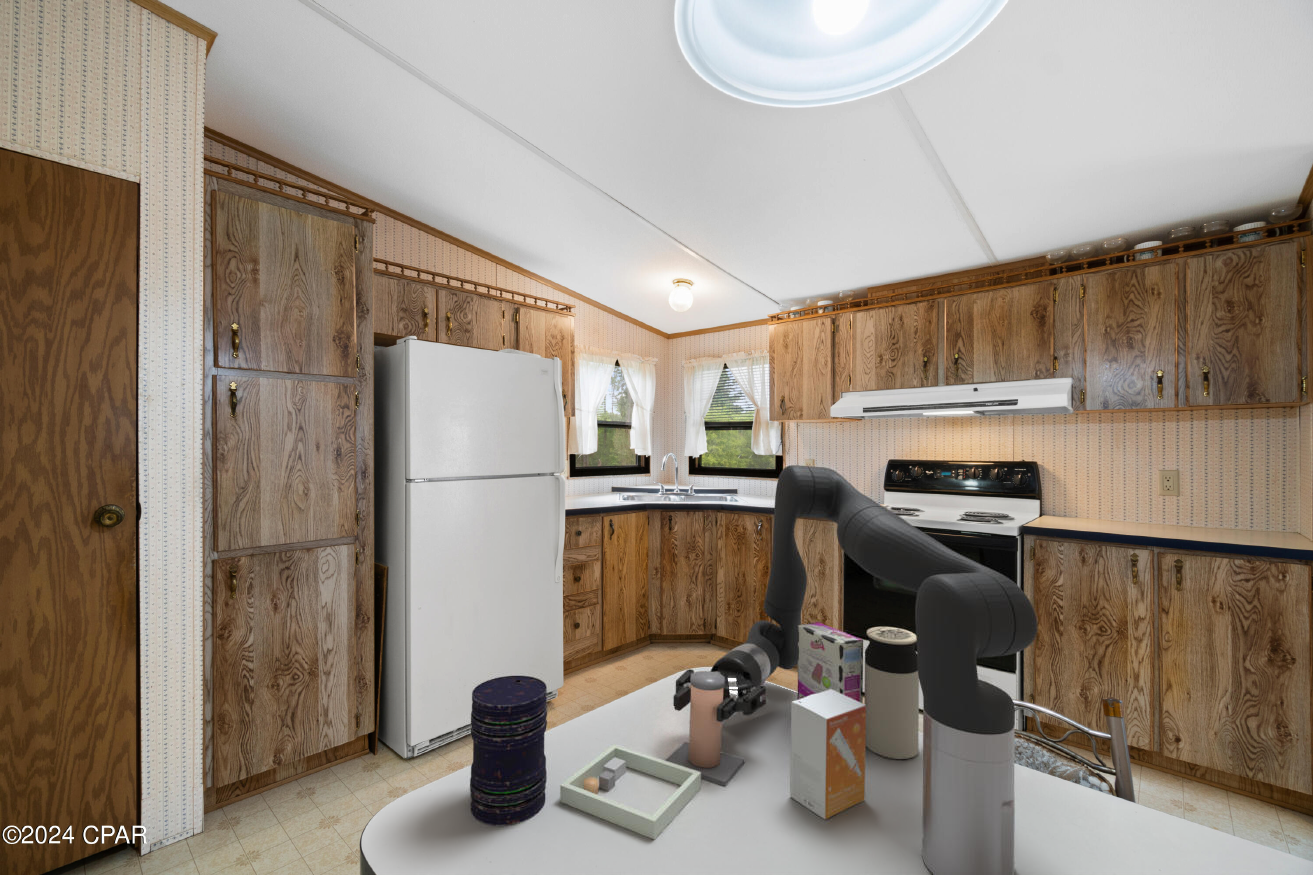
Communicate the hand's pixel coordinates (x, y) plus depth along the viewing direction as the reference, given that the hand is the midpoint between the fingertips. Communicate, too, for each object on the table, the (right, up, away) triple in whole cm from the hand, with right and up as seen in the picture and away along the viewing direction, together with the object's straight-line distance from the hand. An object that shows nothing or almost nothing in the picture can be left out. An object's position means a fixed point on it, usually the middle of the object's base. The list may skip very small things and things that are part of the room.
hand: (697, 709), depth 87 cm
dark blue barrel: (-26, -9, -8) cm, 28 cm away
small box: (+17, -9, -6) cm, 21 cm away
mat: (+1, -9, +2) cm, 9 cm away
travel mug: (+31, -10, +8) cm, 33 cm away
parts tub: (-9, -9, -6) cm, 14 cm away
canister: (+1, -8, +2) cm, 9 cm away
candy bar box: (+23, -10, +13) cm, 28 cm away
